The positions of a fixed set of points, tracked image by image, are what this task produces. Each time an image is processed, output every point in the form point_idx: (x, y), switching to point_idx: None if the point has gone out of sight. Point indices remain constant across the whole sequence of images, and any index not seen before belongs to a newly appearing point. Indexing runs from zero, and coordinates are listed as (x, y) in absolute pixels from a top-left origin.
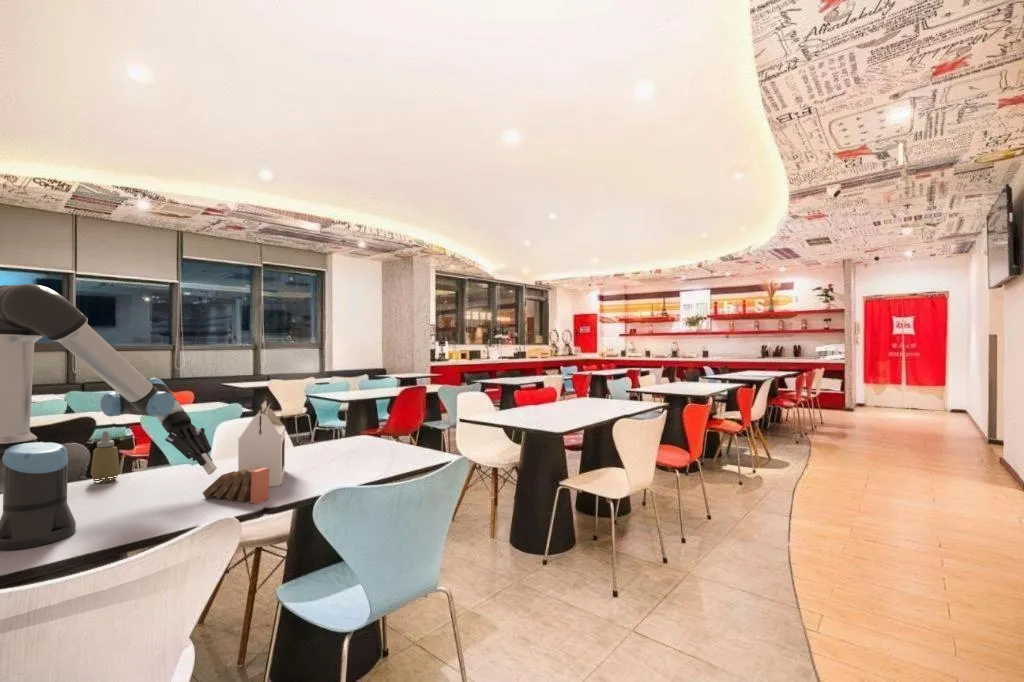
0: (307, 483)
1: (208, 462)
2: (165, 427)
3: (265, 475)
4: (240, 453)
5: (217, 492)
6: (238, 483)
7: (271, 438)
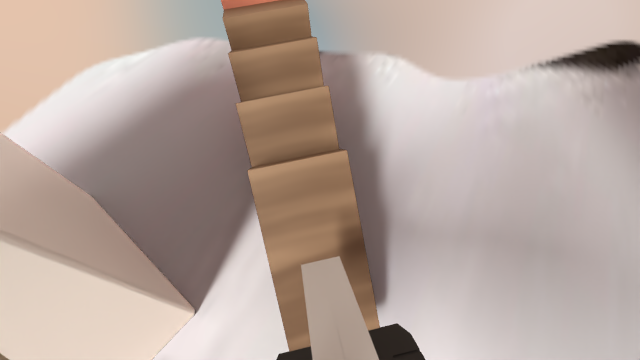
0: (46, 139)
1: (352, 302)
2: None
3: None
4: (29, 236)
5: None
6: None
7: None
